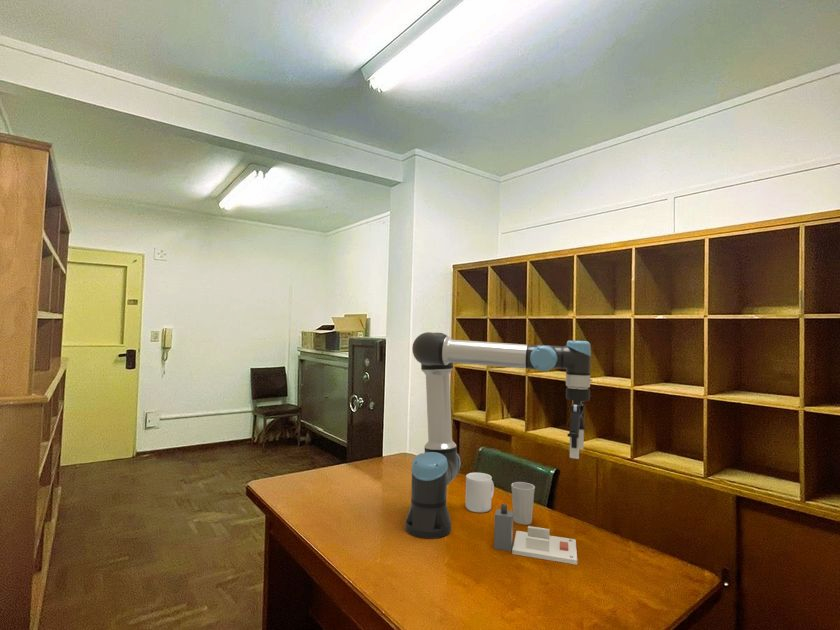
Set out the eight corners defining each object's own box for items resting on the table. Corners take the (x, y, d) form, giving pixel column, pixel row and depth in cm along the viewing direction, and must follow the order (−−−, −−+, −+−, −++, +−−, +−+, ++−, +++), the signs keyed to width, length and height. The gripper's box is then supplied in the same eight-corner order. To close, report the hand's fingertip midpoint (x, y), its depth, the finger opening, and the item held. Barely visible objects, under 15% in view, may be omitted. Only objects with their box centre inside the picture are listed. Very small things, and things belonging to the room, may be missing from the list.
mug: (460, 508, 166) (460, 476, 167) (478, 500, 175) (479, 469, 175) (481, 515, 160) (482, 482, 160) (499, 506, 168) (500, 475, 169)
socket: (512, 554, 131) (512, 539, 131) (516, 534, 145) (516, 521, 145) (577, 564, 126) (577, 549, 126) (575, 543, 139) (575, 529, 139)
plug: (494, 548, 134) (494, 506, 135) (496, 541, 139) (497, 501, 140) (511, 551, 133) (511, 508, 133) (512, 544, 138) (513, 503, 138)
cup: (534, 526, 151) (535, 490, 152) (510, 524, 153) (511, 488, 153) (533, 517, 159) (534, 483, 159) (510, 515, 160) (511, 481, 161)
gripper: (586, 392, 134) (585, 464, 133) (593, 385, 156) (592, 446, 155) (560, 390, 137) (559, 460, 136) (570, 383, 160) (569, 444, 159)
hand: (576, 453), depth 146 cm, fingers open, 13 cm apart
